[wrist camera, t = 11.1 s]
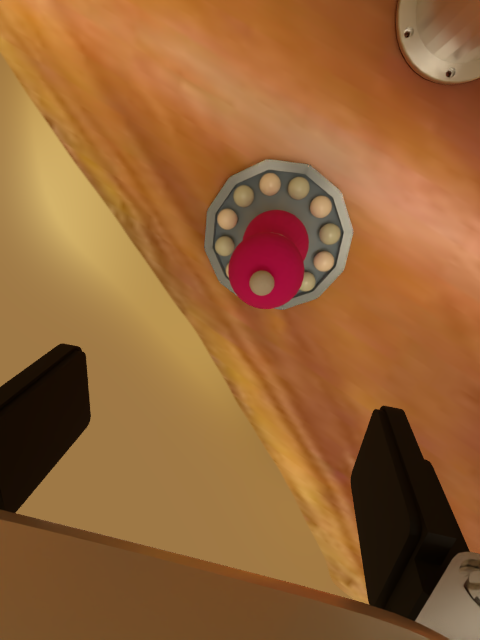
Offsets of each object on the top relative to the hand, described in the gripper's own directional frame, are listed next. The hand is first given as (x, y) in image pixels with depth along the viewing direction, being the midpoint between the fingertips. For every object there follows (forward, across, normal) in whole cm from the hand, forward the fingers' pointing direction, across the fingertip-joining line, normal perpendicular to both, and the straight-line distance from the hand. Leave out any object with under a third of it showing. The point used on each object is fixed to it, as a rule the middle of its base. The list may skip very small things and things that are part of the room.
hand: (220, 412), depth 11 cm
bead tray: (+35, 0, +1) cm, 35 cm away
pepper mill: (+34, 0, +1) cm, 34 cm away
